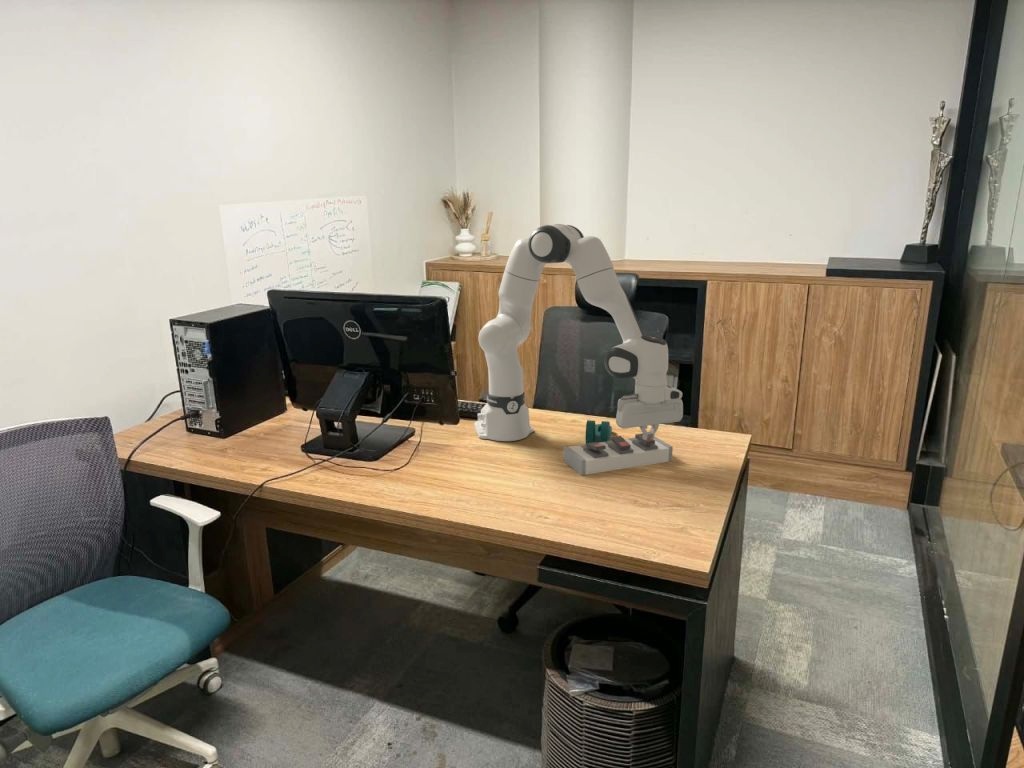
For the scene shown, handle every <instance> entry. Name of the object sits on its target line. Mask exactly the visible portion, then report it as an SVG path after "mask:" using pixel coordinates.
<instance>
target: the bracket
mask: <svg viewBox="0 0 1024 768" xmlns="http://www.w3.org/2000/svg"><path fill="white" fill-rule="evenodd" d="M612 432H613V428H612V426H611V424H610V421H608V420H607V421H605V420H604V421H603V420H602V421H601V423H596V421H595V420H588V419H587V420H586V425H585V440H584V441H585V444H584V445H586V443H593V442H597V443H601V442H608V441H611V437H612V434H613V433H612Z"/></svg>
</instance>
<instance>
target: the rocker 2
mask: <svg viewBox="0 0 1024 768" xmlns="http://www.w3.org/2000/svg"><path fill="white" fill-rule="evenodd" d="M625 439H626V438H623V437H622V436H621V435H617V436H616V435H615V436H611V438H610V441H612V442H614V443H615V444H616V445H617V446H618V447H619V448H620V449H621V450H623V449H630V447H631V445H630V444H629V443H628V442H627V441H626V440H625Z"/></svg>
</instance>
